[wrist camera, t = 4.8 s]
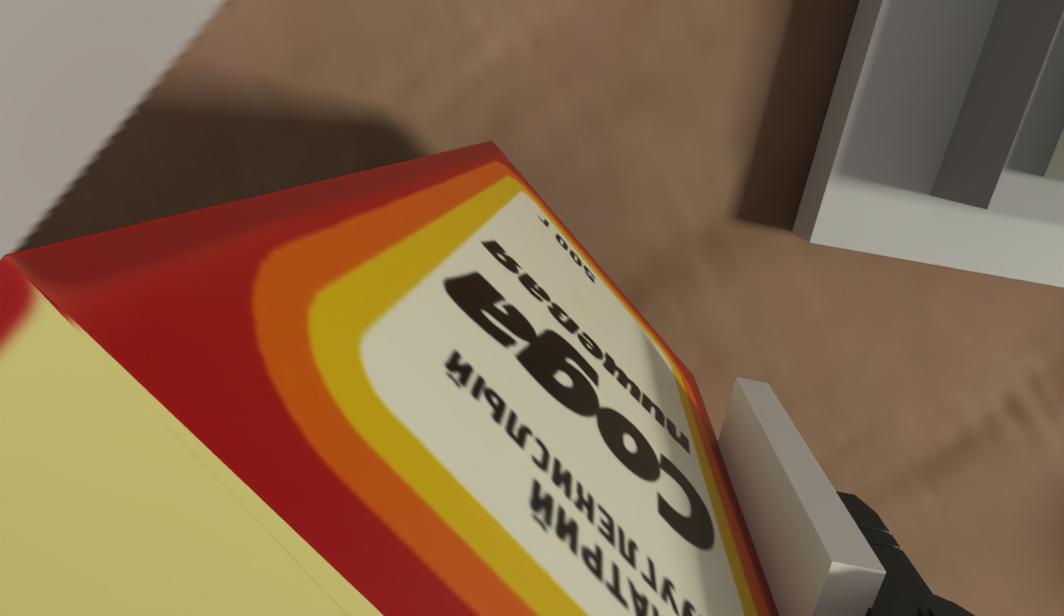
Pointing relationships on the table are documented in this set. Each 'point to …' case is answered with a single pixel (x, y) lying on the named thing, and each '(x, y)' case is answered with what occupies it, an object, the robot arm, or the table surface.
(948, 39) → the plinth
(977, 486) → the table surface
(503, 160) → the baking soda box
